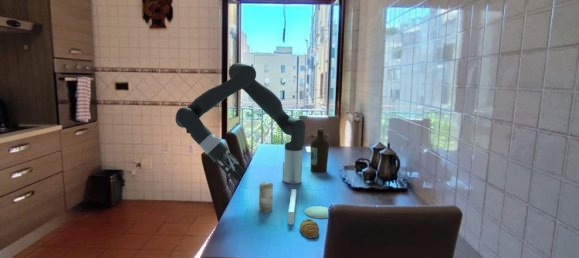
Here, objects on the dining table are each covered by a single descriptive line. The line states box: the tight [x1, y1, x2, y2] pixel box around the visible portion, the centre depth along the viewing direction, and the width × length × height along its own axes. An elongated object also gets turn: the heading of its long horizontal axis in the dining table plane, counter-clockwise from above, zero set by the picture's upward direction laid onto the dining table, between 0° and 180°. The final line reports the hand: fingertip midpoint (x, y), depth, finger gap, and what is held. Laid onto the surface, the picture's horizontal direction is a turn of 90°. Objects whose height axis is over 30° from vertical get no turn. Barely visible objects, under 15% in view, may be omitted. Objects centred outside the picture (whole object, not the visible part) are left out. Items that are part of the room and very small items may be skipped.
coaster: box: [304, 205, 329, 220], centre depth 148 cm, size 12×12×1 cm
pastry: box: [299, 218, 320, 239], centre depth 129 cm, size 9×7×4 cm
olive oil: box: [310, 127, 330, 174], centre depth 208 cm, size 11×11×25 cm
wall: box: [287, 188, 297, 225], centre depth 148 cm, size 26×2×5 cm, turn 177°
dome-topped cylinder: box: [258, 181, 274, 213], centre depth 148 cm, size 6×6×11 cm
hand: (241, 175), depth 147 cm, fingers open, 8 cm apart
